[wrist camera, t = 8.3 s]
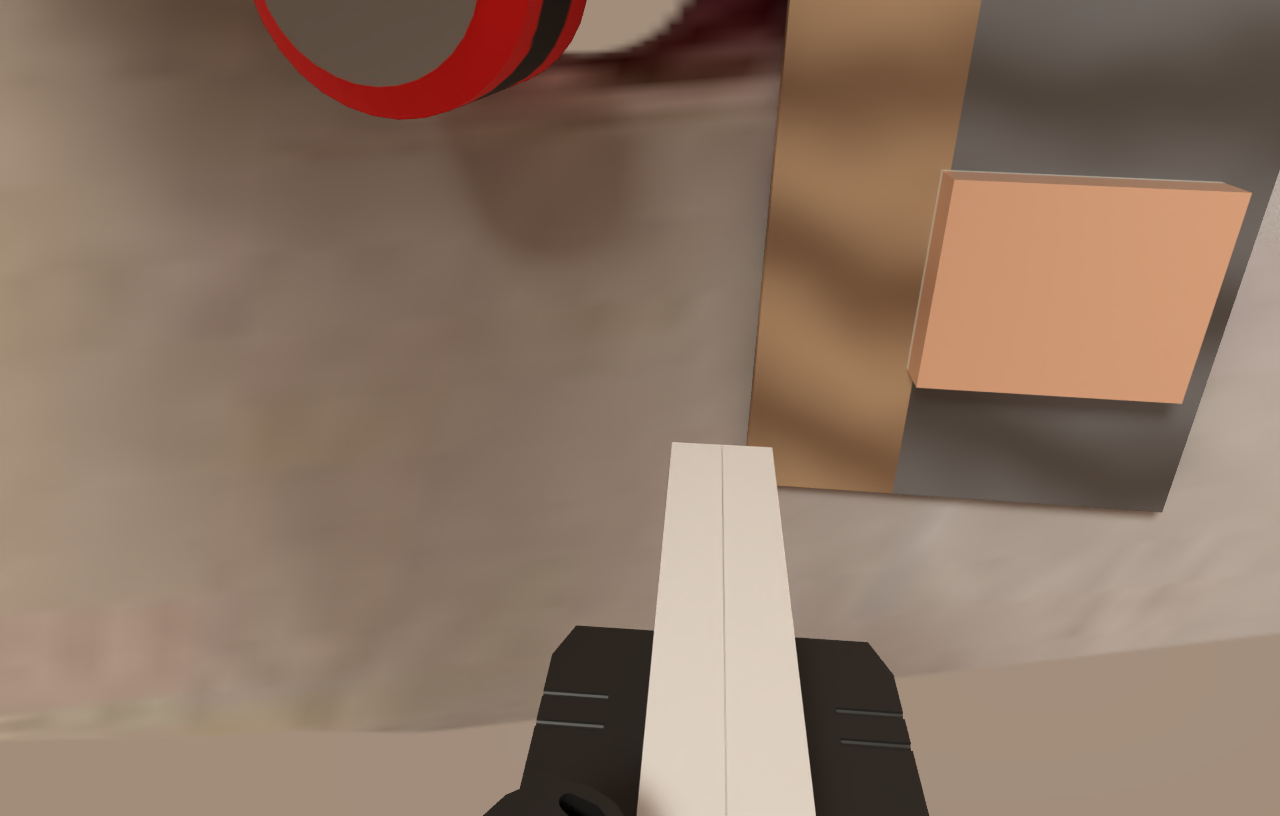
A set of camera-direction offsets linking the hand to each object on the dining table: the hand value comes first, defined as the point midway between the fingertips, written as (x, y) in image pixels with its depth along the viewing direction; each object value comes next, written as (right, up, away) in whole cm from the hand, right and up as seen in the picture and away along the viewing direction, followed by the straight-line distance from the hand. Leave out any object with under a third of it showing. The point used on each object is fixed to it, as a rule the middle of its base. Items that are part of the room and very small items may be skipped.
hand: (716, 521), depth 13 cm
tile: (+10, +7, +19) cm, 23 cm away
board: (+13, +7, +21) cm, 26 cm away
